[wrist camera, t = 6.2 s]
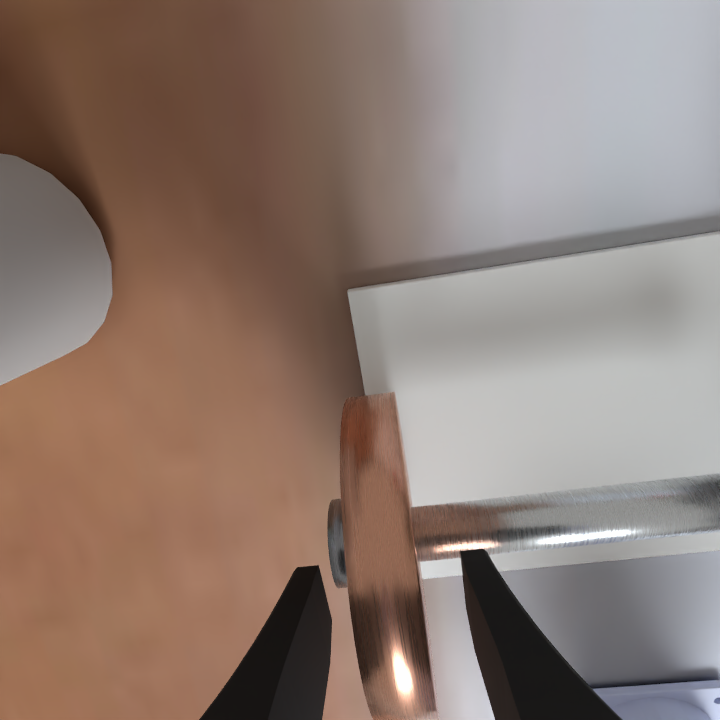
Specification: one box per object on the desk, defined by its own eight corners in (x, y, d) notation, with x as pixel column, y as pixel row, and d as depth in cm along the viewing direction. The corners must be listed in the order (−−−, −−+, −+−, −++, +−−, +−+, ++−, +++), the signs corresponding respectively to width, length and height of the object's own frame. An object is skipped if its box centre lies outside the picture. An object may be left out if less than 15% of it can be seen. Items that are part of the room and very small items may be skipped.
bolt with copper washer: (725, 511, 18) (1033, 778, 10) (362, 548, 19) (352, 812, 11) (754, 302, 15) (1230, 420, 7) (325, 363, 17) (272, 526, 8)
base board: (987, 513, 19) (1006, 522, 18) (396, 571, 21) (397, 581, 21) (1117, 168, 14) (1148, 167, 14) (348, 289, 17) (347, 292, 16)
